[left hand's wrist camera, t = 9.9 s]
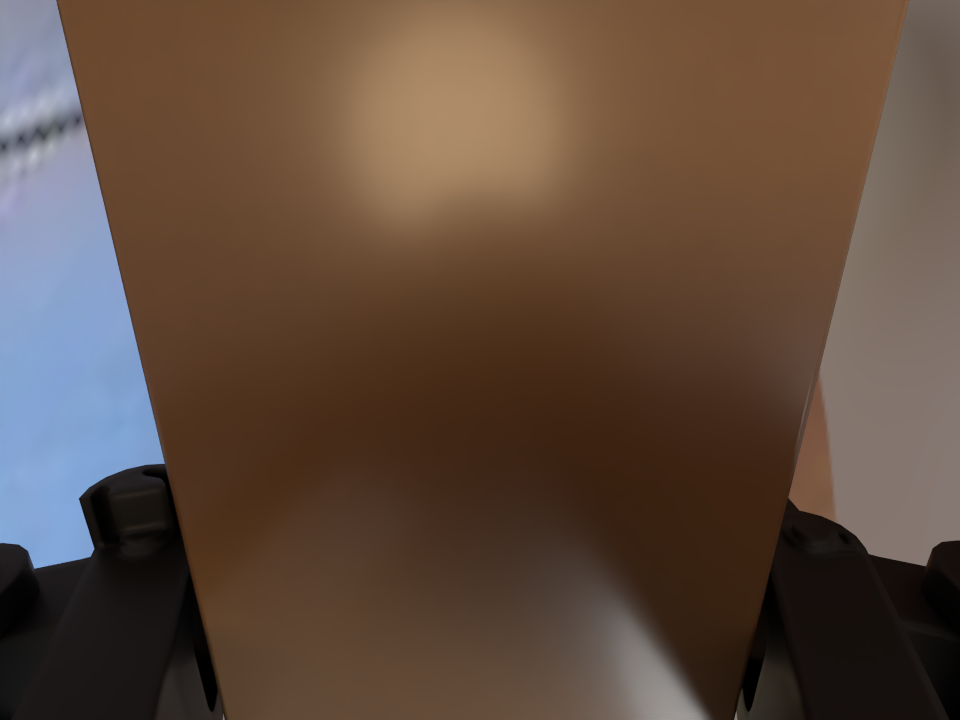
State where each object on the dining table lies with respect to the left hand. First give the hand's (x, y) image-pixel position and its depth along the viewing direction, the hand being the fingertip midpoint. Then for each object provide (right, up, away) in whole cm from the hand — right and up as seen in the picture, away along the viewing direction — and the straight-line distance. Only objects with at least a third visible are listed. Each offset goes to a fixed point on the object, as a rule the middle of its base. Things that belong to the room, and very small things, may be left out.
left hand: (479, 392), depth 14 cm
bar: (0, +7, -2) cm, 7 cm away
